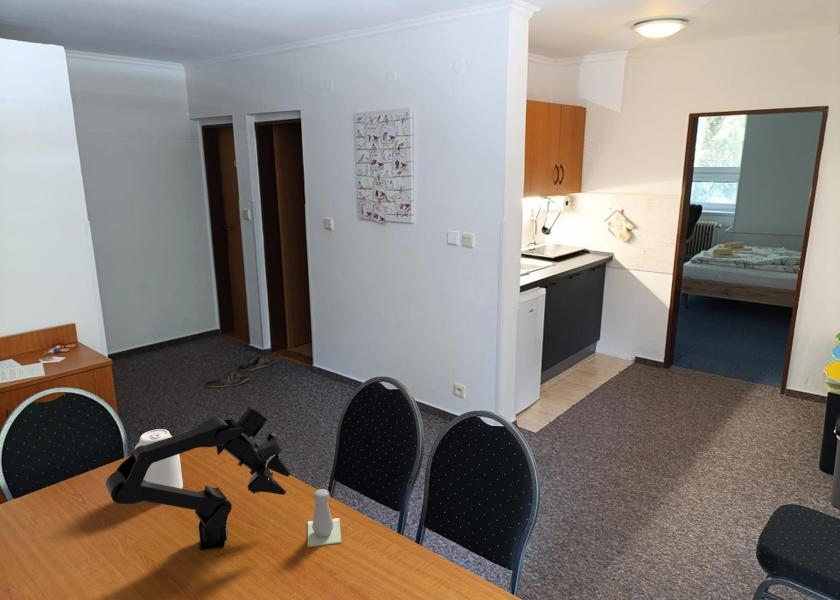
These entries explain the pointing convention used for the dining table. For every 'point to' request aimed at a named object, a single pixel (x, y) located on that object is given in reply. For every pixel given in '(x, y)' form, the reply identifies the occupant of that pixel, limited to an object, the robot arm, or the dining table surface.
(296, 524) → the dining table surface
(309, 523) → the pad
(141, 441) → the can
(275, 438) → the robot arm
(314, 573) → the dining table surface
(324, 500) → the salt shaker
